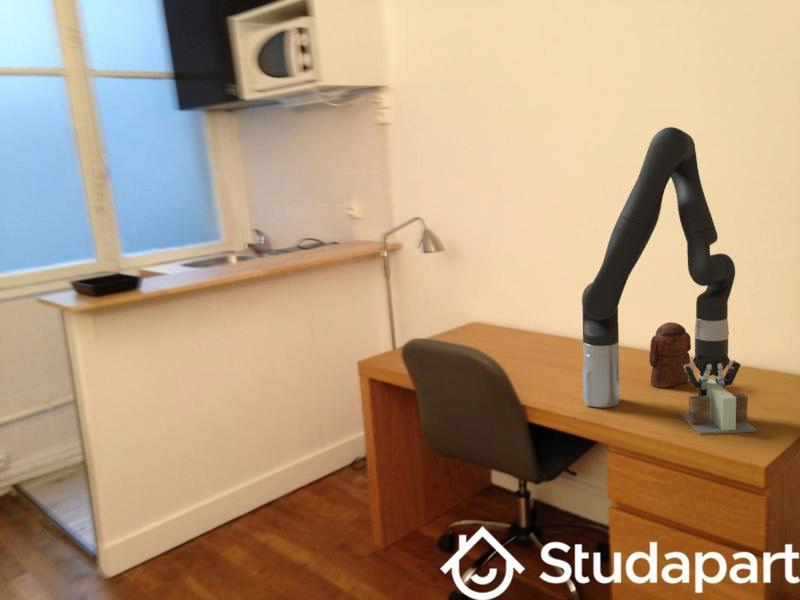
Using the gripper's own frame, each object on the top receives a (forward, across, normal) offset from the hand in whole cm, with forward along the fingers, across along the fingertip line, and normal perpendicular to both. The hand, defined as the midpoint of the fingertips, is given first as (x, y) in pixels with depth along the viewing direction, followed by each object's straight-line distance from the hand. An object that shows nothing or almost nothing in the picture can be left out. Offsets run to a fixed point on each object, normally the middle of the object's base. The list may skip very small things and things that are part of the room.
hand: (710, 401), depth 174 cm
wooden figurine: (+4, +2, -26) cm, 26 cm away
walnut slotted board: (+4, 0, +5) cm, 6 cm away
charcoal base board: (+4, 0, +5) cm, 6 cm away
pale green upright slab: (+3, 0, +4) cm, 5 cm away
